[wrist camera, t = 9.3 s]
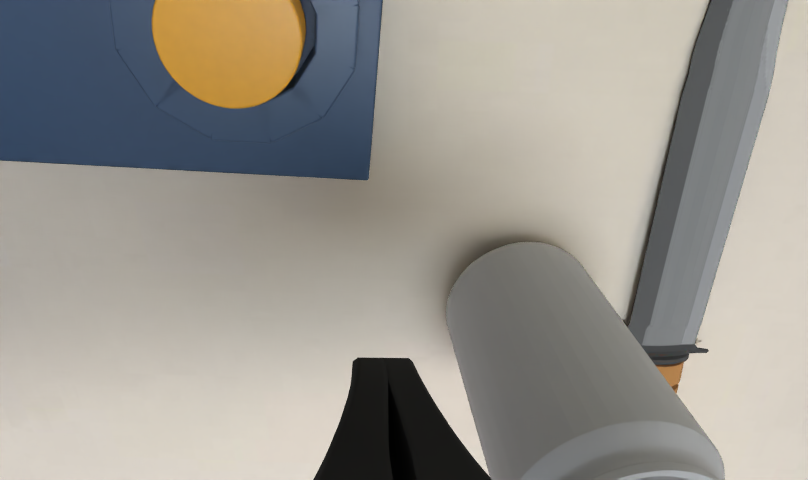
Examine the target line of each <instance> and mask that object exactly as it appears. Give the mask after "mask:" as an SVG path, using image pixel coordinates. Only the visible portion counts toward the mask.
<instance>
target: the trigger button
mask: <svg viewBox="0 0 808 480" xmlns="http://www.w3.org/2000/svg"><path fill="white" fill-rule="evenodd" d="M152 34H153V40H154V43H155V47H156V50H157V53H158V55H159V57H160V60H161V61H162V63H163V65H164V67H165V68H166V70H167V71H168V72H169V74H170V75H171V77H172V78H173V79H174V80H175V81H176V82H177V83H178V84H179V85H180V86H181V87H182V88H183V89H185V90H186V91H187V92H189V93H190V94H191V95H193V96H194V97H196V98H198V99H200V100H202V101H204V102H206V103H209V104H212V105H215V106H219V107H224V108H231V109H241V108H249V107H253V106H257V105H260V104H262V103H265V102H267V101H269V100H270V99H272V98H274V97H275V96H276V95H278V94H279V93H280V92H281V91H282V90H283V89H284V88H285V87H286V86H287V85H288V84H289V82H290V81H291V79H292V78H293V76H294V74H295V72H296V70H297V68H298V65H299V62H300V59H301V55H302V51H303V47H304V42H305V35H306V22H305V16H304V11H303V8H302V5H301V2H300V0H155V3H154V7H153V12H152Z"/></svg>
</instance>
